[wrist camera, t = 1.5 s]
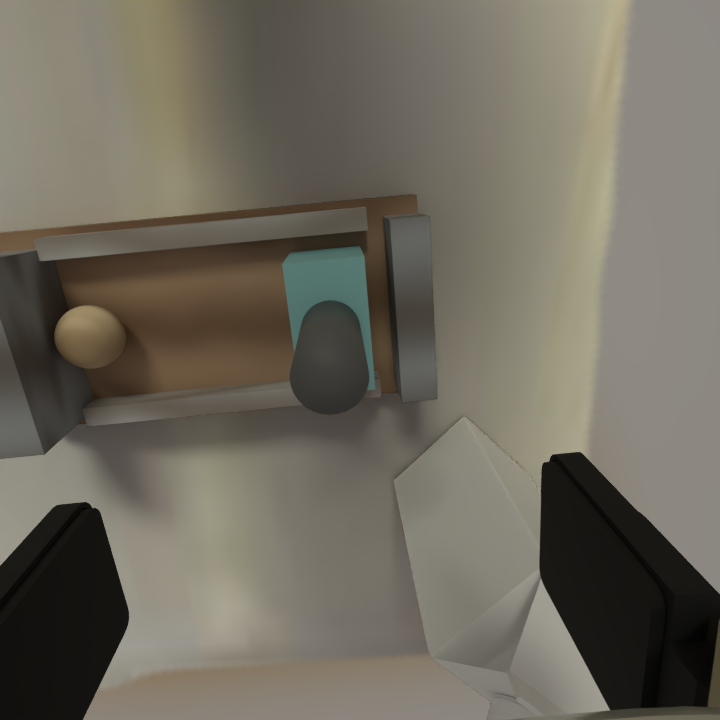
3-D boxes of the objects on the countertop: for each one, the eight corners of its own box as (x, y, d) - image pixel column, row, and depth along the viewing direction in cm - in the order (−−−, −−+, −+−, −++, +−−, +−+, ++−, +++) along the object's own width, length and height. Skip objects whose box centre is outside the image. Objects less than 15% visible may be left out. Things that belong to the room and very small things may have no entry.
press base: (-4, 233, 30) (-116, 247, 23) (411, 194, 31) (436, 195, 23) (53, 415, 34) (-27, 478, 27) (421, 378, 35) (445, 430, 27)
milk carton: (462, 413, 36) (593, 640, 18) (527, 473, 38) (705, 734, 20) (391, 479, 37) (446, 751, 19) (457, 533, 39) (563, 829, 21)
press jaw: (290, 252, 29) (262, 291, 18) (359, 245, 29) (375, 280, 18) (305, 365, 32) (288, 465, 20) (369, 359, 32) (388, 454, 20)
